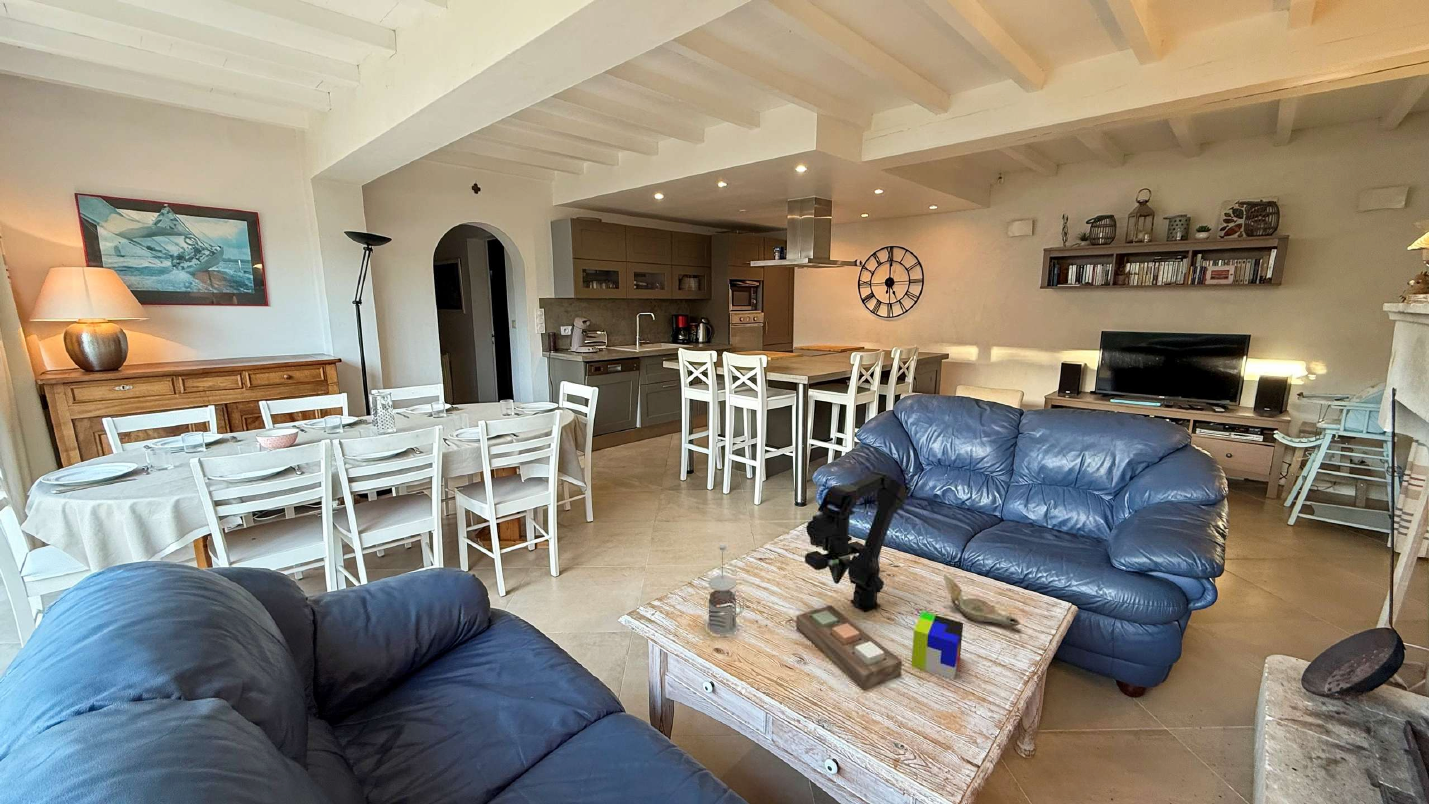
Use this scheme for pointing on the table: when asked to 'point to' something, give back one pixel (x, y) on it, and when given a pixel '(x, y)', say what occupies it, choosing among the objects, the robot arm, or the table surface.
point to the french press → (721, 596)
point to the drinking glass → (879, 554)
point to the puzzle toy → (937, 644)
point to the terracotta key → (845, 634)
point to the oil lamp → (977, 607)
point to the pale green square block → (824, 618)
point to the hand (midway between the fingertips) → (836, 583)
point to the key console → (848, 650)
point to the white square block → (869, 653)
